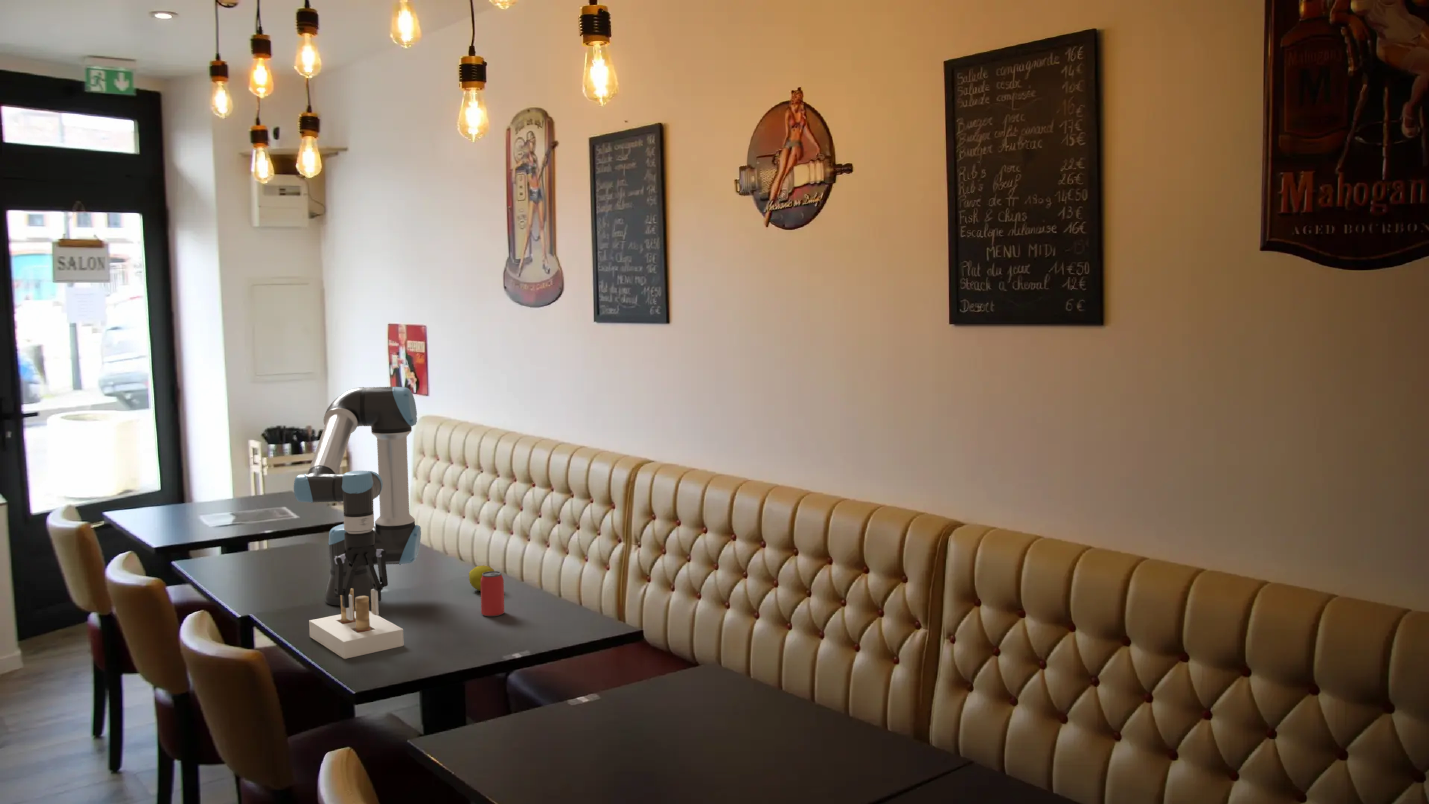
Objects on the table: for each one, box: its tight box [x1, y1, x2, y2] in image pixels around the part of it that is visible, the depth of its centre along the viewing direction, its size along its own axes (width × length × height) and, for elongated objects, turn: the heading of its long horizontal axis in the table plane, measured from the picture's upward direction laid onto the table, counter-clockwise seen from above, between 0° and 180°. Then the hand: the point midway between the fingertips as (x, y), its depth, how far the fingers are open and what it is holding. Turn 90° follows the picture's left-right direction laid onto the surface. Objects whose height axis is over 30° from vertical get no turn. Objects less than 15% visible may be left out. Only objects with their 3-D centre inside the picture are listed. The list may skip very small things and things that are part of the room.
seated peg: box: [340, 588, 355, 624], centre depth 296 cm, size 4×4×13 cm
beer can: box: [480, 570, 505, 618], centre depth 317 cm, size 7×7×12 cm
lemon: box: [468, 564, 495, 592], centre depth 342 cm, size 11×8×8 cm
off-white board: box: [308, 610, 405, 660], centre depth 293 cm, size 16×24×4 cm, turn 40°
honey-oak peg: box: [354, 596, 370, 633], centre depth 289 cm, size 4×4×13 cm
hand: (362, 616), depth 289 cm, fingers open, 6 cm apart
